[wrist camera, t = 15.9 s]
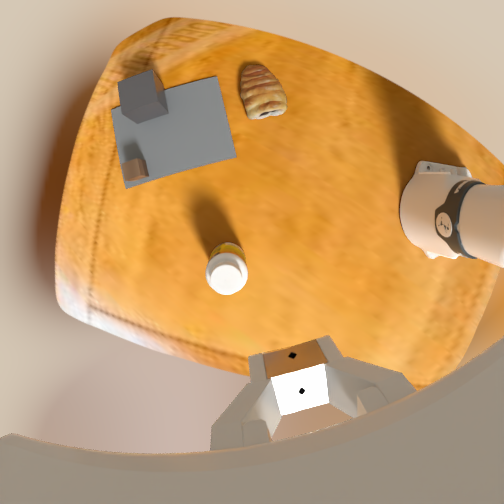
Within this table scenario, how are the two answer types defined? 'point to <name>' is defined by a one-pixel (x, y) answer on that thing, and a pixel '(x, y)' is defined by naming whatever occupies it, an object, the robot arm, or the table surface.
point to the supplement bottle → (227, 269)
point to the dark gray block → (142, 97)
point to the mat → (178, 132)
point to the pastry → (262, 93)
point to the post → (135, 170)
